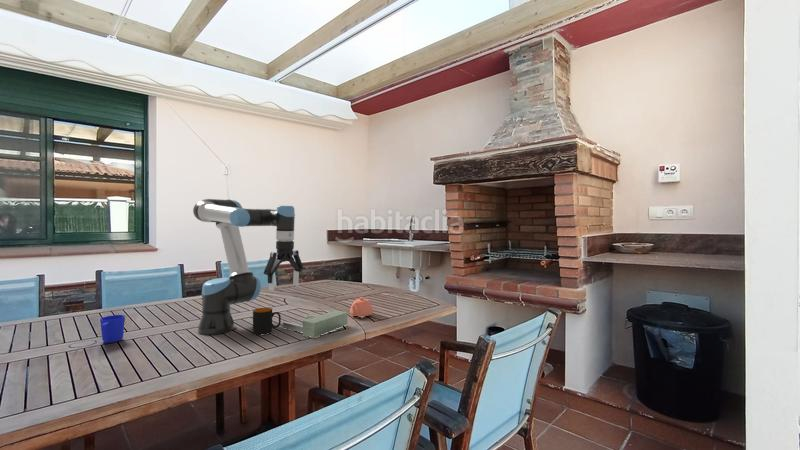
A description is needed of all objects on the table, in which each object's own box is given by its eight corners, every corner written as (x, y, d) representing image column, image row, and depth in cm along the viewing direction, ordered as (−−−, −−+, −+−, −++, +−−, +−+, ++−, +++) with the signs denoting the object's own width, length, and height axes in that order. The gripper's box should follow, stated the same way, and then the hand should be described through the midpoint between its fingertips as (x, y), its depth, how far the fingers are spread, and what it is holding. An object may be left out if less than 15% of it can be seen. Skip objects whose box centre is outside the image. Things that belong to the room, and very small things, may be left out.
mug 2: (281, 333, 166) (281, 310, 166) (252, 336, 161) (252, 313, 161) (280, 328, 174) (280, 306, 173) (252, 330, 169) (252, 308, 169)
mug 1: (90, 348, 145) (90, 323, 145) (106, 338, 157) (106, 315, 156) (115, 346, 147) (114, 322, 147) (128, 336, 159) (128, 314, 159)
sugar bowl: (377, 315, 197) (377, 296, 197) (361, 321, 186) (361, 301, 185) (359, 312, 204) (359, 294, 204) (343, 317, 192) (343, 298, 192)
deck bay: (278, 329, 171) (278, 315, 170) (313, 318, 189) (313, 305, 189) (313, 339, 158) (314, 323, 158) (347, 326, 177) (347, 312, 177)
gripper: (267, 242, 149) (266, 294, 150) (311, 239, 170) (310, 284, 171) (255, 241, 153) (254, 291, 154) (300, 238, 174) (299, 282, 175)
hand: (284, 288), depth 162 cm, fingers open, 13 cm apart
